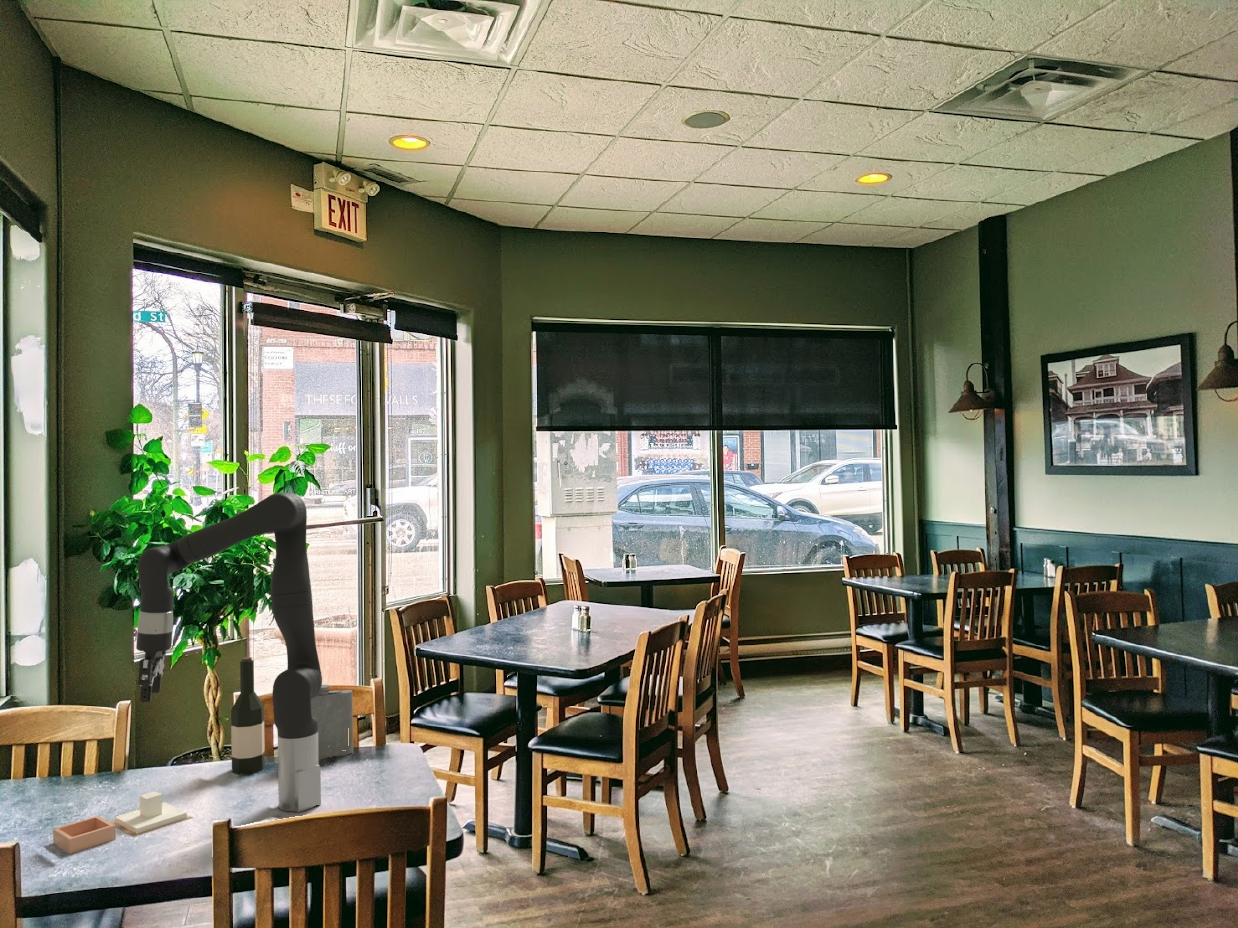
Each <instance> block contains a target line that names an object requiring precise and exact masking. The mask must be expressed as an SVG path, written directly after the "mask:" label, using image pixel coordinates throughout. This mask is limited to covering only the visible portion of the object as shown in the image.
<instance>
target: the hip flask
mask: <svg viewBox="0 0 1238 928" xmlns="http://www.w3.org/2000/svg"><path fill="white" fill-rule="evenodd" d="M330 688H331V686H330V685H329V684H322V686H321V689H320V691H319V693H318V694H317V695H316V696H315V697H314V698H313V699H311V714H312V717H314V718H316V719H317V721H318V758H319V761H321V760H323V759H324V758H325V759H328V758H327V757H330V756H336V757H339V756H338V755H342V756H348V755H347V754H349V755H351V754H350V753H352V754H353V753H354V715H353V713H354V711H353V709H354V708H353V706H354V705H353V703H354V702H353V690H351V689H345V690H339V689H338V690H330ZM348 728H349V746H348ZM328 746H329V747H328ZM342 750H346V751H342ZM330 758H331V757H330Z"/></svg>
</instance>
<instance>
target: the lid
mask: <svg viewBox="0 0 1238 928" xmlns="http://www.w3.org/2000/svg"><path fill="white" fill-rule="evenodd" d="M187 815H188V814H187V812H186V811H184V810H182V809H179V808H178V807H176V806H174V805H172V804H169V803H167V802H166V801H164V802H163V794H161V793H160V792H158V791H151V792H148V793H144V794H141V795H139V809H137V810H133V811H130V812H126V813H124V814H120V815H117V816H114V818H115V819H114V821H115V822H116V823H118V824H120V825H121V826H123V827H125V828H127V829H129V830H131V831H132V832H134V833H136V834H138V833H142V832H145V831H148V830H151V829H154V828H157V827H160V826H163V825H166V824H169V823H173V822H176V821H179V820H182V819H185V818H187Z"/></svg>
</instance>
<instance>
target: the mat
mask: <svg viewBox="0 0 1238 928" xmlns="http://www.w3.org/2000/svg"><path fill="white" fill-rule="evenodd" d="M193 818H194V817H193V816H191V815H189V814H187V818H185V819H182V820H179V821H176V822H173V823H169V824H166V825H163V826H160V827H157V828H154V829H151V830H148V831H145V832H142V833H138V834H136V833H134V832H132V831H131V830H129V829H127V828H125V827H123V826H121V825H120V824H118V823H116V822H115V820H112V821H109V822H110V823H112V824H114V825H115V828H116V829H117V828H118V829H119V830H121V831H123V832H124V833H126V834H128V835H130V836H131V837H134V838H135V837H139V836H142V835H144V834H147V833H150V832H154V831H157V830H159V829H164V828H166V827H169V826H173V825H176V824H178V823H181V822H184V821H185V822H186V821H187V820H190V819H193Z"/></svg>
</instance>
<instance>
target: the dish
mask: <svg viewBox="0 0 1238 928" xmlns="http://www.w3.org/2000/svg"><path fill="white" fill-rule="evenodd" d="M110 822H111V821H109V820H107V819H105V818H103V817H101V816H100V815H95V816H92V817H88V818H85V819H82V820H79V821H76V822H72V823H68V824H65V825H62V826H58V827H55V828H53V829H52V842H53V844H54V845H56V846H57V847H59V848H60V849H61V850H64V851H65V852H66V853H68V854H70V855H71V854H74V853H77V852H80V851H83V850H86V849H87V850H88V849H90V848H93V847H96V846H98V845H99V846H100V845H102V844H106V843H108V842H112V841H115V840H116V839H117V838H116V836H117V835H116V826H115V825H114V824H112V823H110Z"/></svg>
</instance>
